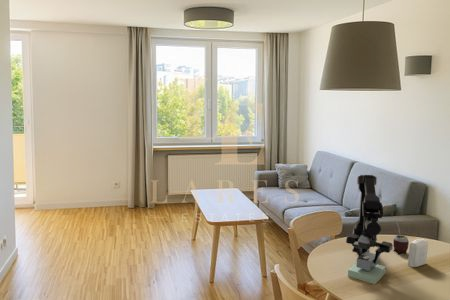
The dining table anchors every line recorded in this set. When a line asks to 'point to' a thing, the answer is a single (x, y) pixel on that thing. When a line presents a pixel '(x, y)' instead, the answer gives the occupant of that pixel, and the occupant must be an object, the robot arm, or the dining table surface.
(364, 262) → the graphite housing
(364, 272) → the sage stand
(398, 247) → the mate gourd
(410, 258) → the photo printer
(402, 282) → the dining table surface
